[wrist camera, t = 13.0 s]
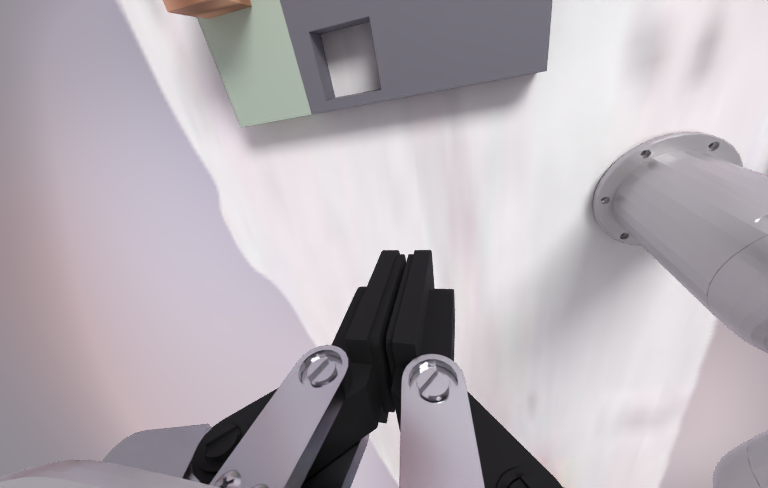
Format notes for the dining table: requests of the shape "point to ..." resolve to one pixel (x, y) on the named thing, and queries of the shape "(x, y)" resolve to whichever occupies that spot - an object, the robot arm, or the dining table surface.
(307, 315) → the dining table surface
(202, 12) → the terracotta block
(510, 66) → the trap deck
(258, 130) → the dining table surface
